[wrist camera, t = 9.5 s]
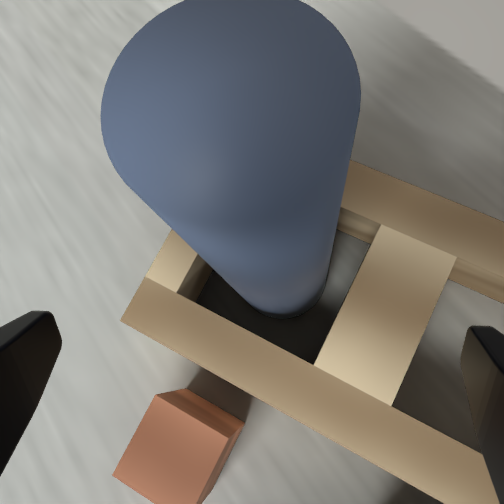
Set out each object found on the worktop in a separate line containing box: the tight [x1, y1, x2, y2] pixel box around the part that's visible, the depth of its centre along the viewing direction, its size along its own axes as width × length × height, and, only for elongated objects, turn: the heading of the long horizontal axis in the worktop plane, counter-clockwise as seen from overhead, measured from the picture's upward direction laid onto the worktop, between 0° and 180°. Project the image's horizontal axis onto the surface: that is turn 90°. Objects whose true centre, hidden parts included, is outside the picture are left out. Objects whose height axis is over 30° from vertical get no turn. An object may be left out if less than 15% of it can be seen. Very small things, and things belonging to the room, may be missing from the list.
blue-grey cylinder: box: [101, 0, 361, 319], centre depth 13 cm, size 4×4×14 cm
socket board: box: [112, 160, 504, 504], centre depth 17 cm, size 14×18×4 cm
